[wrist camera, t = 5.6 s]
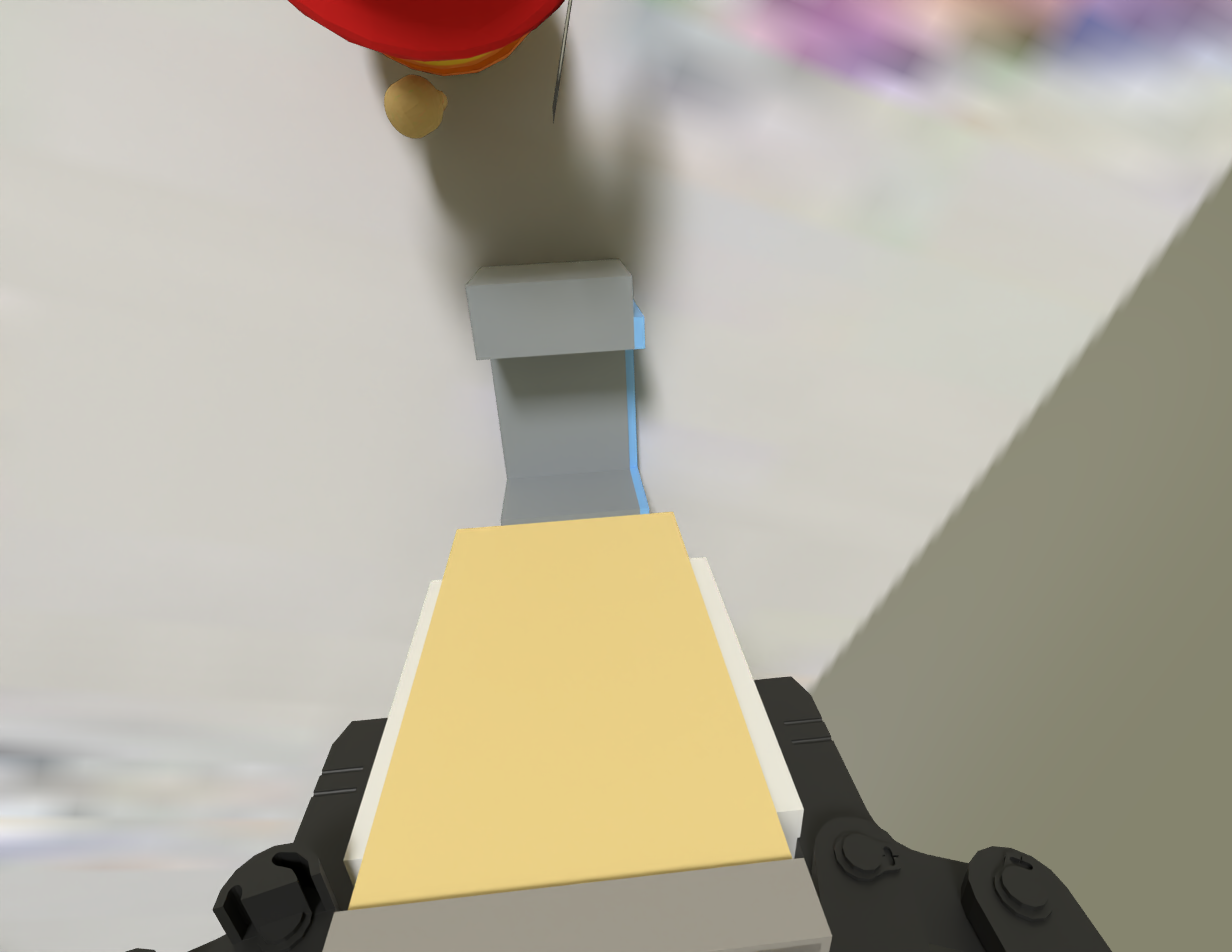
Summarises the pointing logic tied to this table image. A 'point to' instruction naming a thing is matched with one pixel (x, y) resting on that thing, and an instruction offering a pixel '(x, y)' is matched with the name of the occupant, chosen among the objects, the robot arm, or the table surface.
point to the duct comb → (562, 386)
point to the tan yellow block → (576, 765)
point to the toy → (433, 43)
